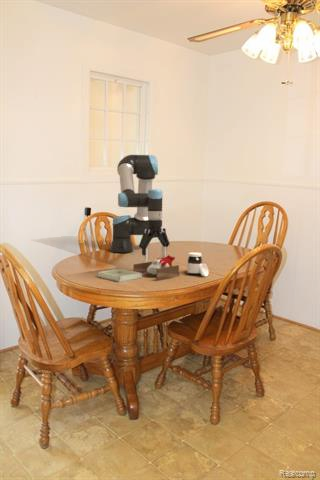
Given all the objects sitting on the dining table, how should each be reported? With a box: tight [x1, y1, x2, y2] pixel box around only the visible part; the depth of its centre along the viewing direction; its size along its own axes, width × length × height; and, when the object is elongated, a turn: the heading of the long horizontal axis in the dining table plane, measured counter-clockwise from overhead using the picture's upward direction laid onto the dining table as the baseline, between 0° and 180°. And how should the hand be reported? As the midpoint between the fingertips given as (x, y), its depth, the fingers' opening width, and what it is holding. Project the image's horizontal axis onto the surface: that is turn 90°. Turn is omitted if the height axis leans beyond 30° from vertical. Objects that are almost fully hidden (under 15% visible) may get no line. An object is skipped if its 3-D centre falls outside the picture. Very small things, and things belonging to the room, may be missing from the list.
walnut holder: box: [132, 261, 181, 282], centre depth 218 cm, size 18×17×6 cm
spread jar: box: [187, 252, 209, 278], centre depth 222 cm, size 12×11×12 cm
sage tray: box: [97, 268, 143, 283], centre depth 213 cm, size 17×15×3 cm
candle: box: [146, 254, 176, 276], centre depth 218 cm, size 9×11×15 cm
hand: (154, 260), depth 216 cm, fingers open, 13 cm apart
